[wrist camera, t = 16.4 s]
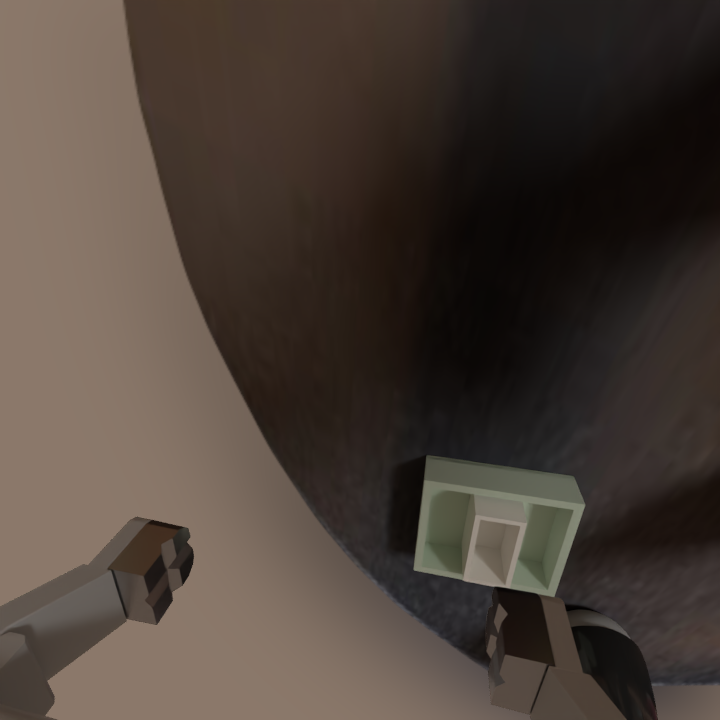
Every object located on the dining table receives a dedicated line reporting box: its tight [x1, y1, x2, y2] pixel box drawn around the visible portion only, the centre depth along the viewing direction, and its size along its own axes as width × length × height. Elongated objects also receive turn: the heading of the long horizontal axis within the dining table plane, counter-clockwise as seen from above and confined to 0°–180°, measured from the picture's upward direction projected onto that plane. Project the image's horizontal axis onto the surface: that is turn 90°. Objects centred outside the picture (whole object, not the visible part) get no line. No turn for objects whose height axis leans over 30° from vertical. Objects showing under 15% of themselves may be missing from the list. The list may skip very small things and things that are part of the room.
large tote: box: [414, 455, 585, 597], centre depth 43 cm, size 15×13×4 cm
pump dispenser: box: [567, 610, 658, 720], centre depth 43 cm, size 10×10×15 cm
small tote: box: [462, 494, 527, 589], centre depth 42 cm, size 5×9×5 cm, turn 178°
